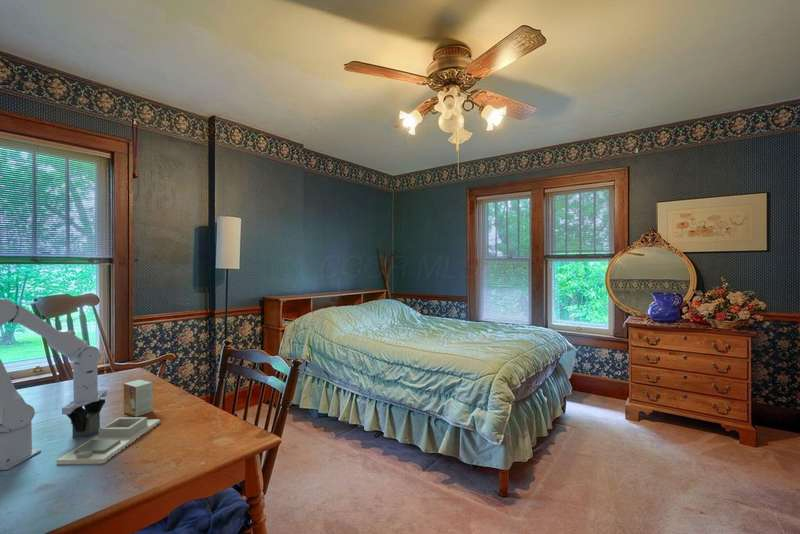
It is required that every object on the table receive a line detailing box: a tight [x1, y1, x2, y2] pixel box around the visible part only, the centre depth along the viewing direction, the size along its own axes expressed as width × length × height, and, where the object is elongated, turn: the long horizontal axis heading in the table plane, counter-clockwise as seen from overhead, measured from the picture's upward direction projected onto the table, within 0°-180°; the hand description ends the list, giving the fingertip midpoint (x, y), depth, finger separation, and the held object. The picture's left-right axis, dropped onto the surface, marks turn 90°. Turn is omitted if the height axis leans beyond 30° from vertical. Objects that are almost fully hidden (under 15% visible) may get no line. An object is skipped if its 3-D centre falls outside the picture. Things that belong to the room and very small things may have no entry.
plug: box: [70, 411, 101, 438], centre depth 112 cm, size 4×6×6 cm, turn 92°
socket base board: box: [56, 416, 161, 465], centre depth 108 cm, size 24×12×4 cm, turn 2°
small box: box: [123, 379, 154, 417], centre depth 128 cm, size 8×6×10 cm
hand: (86, 427), depth 112 cm, fingers closed on plug, 4 cm apart
